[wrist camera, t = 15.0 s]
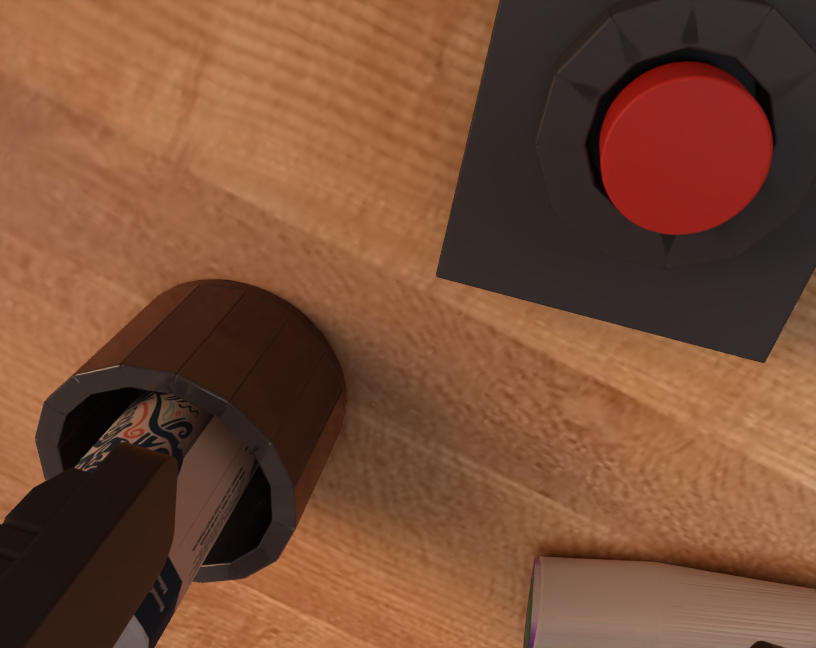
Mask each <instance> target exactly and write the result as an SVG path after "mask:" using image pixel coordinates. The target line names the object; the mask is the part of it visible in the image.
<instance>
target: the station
mask: <svg viewBox="0 0 816 648" xmlns="http://www.w3.org/2000/svg"><path fill="white" fill-rule="evenodd" d="M683 61H691V62H701V63H707V64H710V65H713V66H716V67H718V68H720V69H723V70H725V71H726V72H728V73H729V74H731V75H732V76H734V77H735V78H736V79H737V80H738V81H739V82H740V83H741V84H742V85H743V86H744V87H745V88H746V89H747V90H748V92H749V93H750V94H751V95H752V96H753V97H754V99H755V100H756V101H757V102H758V104H759V105H760V106H761V107H762V109H763V111H764V113H765V114H766V116H767V119H768V121H769V124H770V127H771V132H772V136H773V154H772V161H771V165H770V169H769V172H768V174H767V177H766V179H765V181H764V183H763V185H762V187H761V189H760V190H759V192H758V193H757V194H756V196H755V197H754V198H753V200H752V201H751V202H750V203H749V204H748V205H747V206H746V207H745V208H744V209H743V210H742V211H740V212H739V213H738V214H737V215H735V216H734V217H732V218H731V219H730V220H728V221H726V222H724V223H722V224H721V225H719V226H716V227H714V228H711V229H709V230H706V231H702V232H698V233H693V234H685V235H670V234H662V233H657V232H653V231H650V230H647V229H644V228H642V227H640V226H638V225H636V224H635V223H633V222H631V221H630V220H628V219H627V218H626V217H625V216H624V215H622V214H621V213H620V212H619V210H618V209H617V208H616V207H615V206H614V204H613V203H612V201H611V200H610V198H609V196H608V194H607V192H606V190H605V187H604V184H603V181H602V175H601V166H600V151H599V139H600V131H601V127H602V123H603V120H604V118H605V115H606V113H607V111H608V109H609V107H610V105H611V104H612V102H613V101H614V99H615V98H616V97H617V95H618V94H619V93H620V92H621V91H622V90H623V89H624V88H625V87H626V86H627V85H628V84H629V83H630V82H632V81H633V80H634V79H635V78H637V77H638V76H640V75H641V74H643V73H645V72H647V71H649V70H651V69H653V68H656V67H659V66H661V65H665V64H669V63H673V62H683ZM815 267H816V0H500V2H499V6H498V10H497V14H496V19H495V23H494V27H493V32H492V36H491V40H490V44H489V49H488V53H487V57H486V62H485V66H484V70H483V75H482V79H481V83H480V87H479V92H478V96H477V100H476V105H475V109H474V113H473V118H472V122H471V126H470V130H469V135H468V139H467V143H466V148H465V152H464V156H463V160H462V165H461V169H460V173H459V178H458V182H457V186H456V191H455V195H454V199H453V203H452V208H451V212H450V216H449V221H448V225H447V229H446V234H445V238H444V242H443V246H442V251H441V255H440V259H439V264H438V268H437V272H436V276H437V277H439V278H443V279H447V280H450V281H454V282H458V283H462V284H465V285H469V286H473V287H477V288H481V289H484V290H488V291H492V292H496V293H500V294H503V295H507V296H511V297H515V298H519V299H522V300H526V301H530V302H534V303H538V304H541V305H545V306H549V307H553V308H557V309H560V310H564V311H568V312H572V313H575V314H579V315H583V316H587V317H591V318H594V319H598V320H602V321H606V322H610V323H613V324H617V325H621V326H625V327H629V328H632V329H636V330H640V331H644V332H648V333H651V334H655V335H659V336H663V337H666V338H670V339H674V340H678V341H682V342H685V343H689V344H693V345H697V346H701V347H704V348H708V349H712V350H716V351H720V352H723V353H727V354H731V355H735V356H739V357H742V358H746V359H750V360H754V361H757V362H761V363H765V361H766V359H767V358H768V356H769V354H770V352H771V350H772V348H773V346H774V344H775V342H776V341H777V339H778V337H779V335H780V333H781V331H782V329H783V327H784V325H785V324H786V322H787V320H788V318H789V316H790V314H791V312H792V310H793V309H794V307H795V305H796V303H797V301H798V299H799V297H800V295H801V293H802V292H803V290H804V288H805V286H806V284H807V282H808V280H809V278H810V277H811V275H812V273H813V271H814V269H815Z"/></svg>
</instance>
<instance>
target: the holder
mask: <svg viewBox="0 0 816 648" xmlns="http://www.w3.org/2000/svg"><path fill="white" fill-rule="evenodd" d="M143 390H150V391H156V392H162V393H167V394H173V395H175V396H177V397H179V398H181V399H183V400H185V401H187V402H189V403H191V404H193V405H195V406H197V407H199V408H201V409H203V410H205V411H206V412H208V413H210V414H212V415H214V416H216V417H217V418H218V419H219V420H220V421H221V422H222V423H224V424H225V425H226V426H227V427H228V428H229V429H230V430H231V431H232V432H233V433H234V434H235V435H236V436H237V437H238V438H239V439H240V440H241V441H242V442H243V443H244V444H246V445H247V446H248V447H249V448H250V449H251V450H252V451H253V453H254V455H255V457H256V459H257V461H258V463H259V466H258V468H257V470H256V472H255V473H254V475H253V477H252V478H251V480H250V482H249V484H248V485H247V487H246V489H245V491H244V492H243V494H242V496H241V498H240V499H239V501H238V503H237V505H236V506H235V508H234V510H233V512H232V513H231V515H230V517H229V519H228V520H227V522H226V524H225V525H224V527H223V529H222V531H221V532H220V534H219V536H218V538H217V539H216V541H215V543H214V545H213V546H212V548H211V550H210V552H209V553H208V555H207V557H206V559H205V560H204V562H203V564H202V565H201V567H200V569H199V571H198V572H197V574H196V576H195V578H194V579H193V581H194V582H198V583H200V582H202V583H206V582H216V581H226V580H237V579H243V578H244V579H245V578H247V577H248V576H250V575H252V574H254V573H256V572H257V571H259V570H261V569H263V568H265V567H266V566H268V565H270V564H272V563H274V562H275V561H277V559H279V557H280V555H281V554H282V552H283V550H284V548H285V547H286V545H287V543H288V542H289V540H290V538H291V536H292V535H293V533H294V531H295V530H296V527H297V525H298V523H299V521H300V519H301V516H302V514H303V512H304V510H305V508H306V506H307V503H308V501H309V499H310V497H311V495H312V492H313V490H314V488H315V486H316V484H317V482H318V479H319V477H320V475H321V473H322V471H323V468H324V466H325V464H326V462H327V460H328V458H329V455H330V453H331V451H332V449H333V447H334V444H335V442H336V440H337V438H338V436H339V433H340V431H341V429H342V426H343V420H344V416H345V412H346V402H347V399H346V386H345V381H344V377H343V373H342V370H341V367H340V365H339V362H338V360H337V358H336V356H335V354H334V352H333V350H332V348H331V347H330V345H329V344H328V342H327V341H326V339H325V338H324V336H323V335H322V334H321V333H320V332H319V330H318V329H317V328H316V327H315V326H314V325H313V324H312V323H311V322H310V321H309V320H308V319H307V318H306V317H305V316H304V315H303V314H302V313H300V312H299V311H298V310H296V309H295V308H294V307H292V306H291V305H290V304H288V303H287V302H285V301H283V300H282V299H280V298H278V297H277V296H275V295H273V294H270V293H268V292H266V291H264V290H262V289H259V288H256V287H253V286H250V285H247V284H243V283H239V282H234V281H227V280H216V279H215V280H198V281H193V282H187V283H184V284H181V285H178V286H175V287H173V288H171V289H169V290H167V291H165V292H163V293H162V294H161V295H159V296H157V297H156V298H155V299H154V300H153V301H152V302H151V303H150V304H148V305H147V306H146V307H145V308H144V309H143V310H142V311H141V312H140V313H139V314H137V315H136V316H135V317H134V318H133V319H132V320H131V321H130V322H129V323H128V324H127V325H125V326H124V327H123V328H122V329H121V330H120V331H119V332H118V333H117V334H116V335H115V336H114V337H113V338H111V339H110V340H109V341H108V342H107V343H106V344H105V345H104V346H103V347H102V348H101V349H100V350H98V351H97V352H96V353H95V354H94V355H93V356H92V357H91V358H90V359H89V360H88V361H87V362H86V363H84V364H83V365H82V366H81V367H80V368H79V369H78V370H77V371H76V372H75V373H74V374H73V375H72V376H70V377H69V378H68V379H67V380H66V381H65V382H64V383H63V384H62V385H61V386H60V387H59V388H57V389H56V390H55V391H54V392H53V393H52V394H51V395H50V396H49V397H48V398H47V399H46V401H44V404H43V408H42V412H41V416H40V420H39V424H38V428H37V432H36V436H35V441H36V445H37V449H38V453H39V457H40V461H41V466H42V470H43V474H44V478H45V479H46V481H47V480H49V479H51V478H52V477H54V476H56V475H58V474H60V473H62V472H63V471H65V470H67V469H69V468H71V467H75V466H76V465H77V464H78V462H79V461H80V460H81V459H82V458H83V457H84V456H85V455H86V454H87V452H88V451H89V450H90V449H91V448H92V447H93V446H94V445H95V444H96V442H97V441H98V440H99V439H100V438H101V437H102V436H103V435H104V434H105V432H106V431H107V430H108V429H109V428H110V427H111V426H112V425H113V423H114V422H115V421H116V420H117V419H118V418H119V417H120V416H121V415H122V413H123V412H124V411H125V410H126V409H127V408H128V407H129V406H130V405H131V403H132V402H133V401H134V400H135V399H136V398H137V397H138V396H139V395H140V393H141V392H142V391H143Z"/></svg>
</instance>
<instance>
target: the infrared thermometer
mask: <svg viewBox="0 0 816 648" xmlns="http://www.w3.org/2000/svg"><path fill="white" fill-rule="evenodd" d="M757 641H765V642H769V643H772V644H775V645H778V646H782V647H785V648H816V589H811V588H805V587H798V586H792V585H787V584H781V583H775V582H769V581H763V580H757V579H751V578H745V577H739V576H733V575H728V574H722V573H716V572H710V571H705V570H699V569H693V568H687V567H682V566H676V565H670V564H664V563H659V562H649V561H626V560H604V559H582V558H561V557H539V558H538V559H535V560H534V566H533V573H532V579H531V585H530V592H529V599H528V607H527V615H526V625H525V634H524V645H523V648H750V647H751V646H752V645H753V644H754V643H755V642H757Z"/></svg>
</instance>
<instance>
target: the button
mask: <svg viewBox="0 0 816 648" xmlns="http://www.w3.org/2000/svg"><path fill="white" fill-rule="evenodd" d="M599 151H600V166H601V175H602V181H603V184H604V187H605V190H606V192H607V194H608V196H609V198H610V200H611V201H612V203H613V204H614V206H615V207H616V208H617V209H618V210H619V212H620V213H621V214H622V215H624V216H625V217H626V218H627V219H628V220H630V221H631V222H633V223H635V224H636V225H638V226H640V227H642V228H644V229H647V230H650V231H653V232H657V233H662V234H670V235H685V234H693V233H698V232H702V231H706V230H709V229H711V228H714V227H716V226H719V225H721V224H722V223H724V222H726V221H728V220H730V219H731V218H732V217H734V216H735V215H737V214H738V213H739V212H740V211H742V210H743V209H744V208H745V207H746V206H747V205H748V204H749V203H750V202H751V201H752V200H753V198H754V197H755V196H756V194H757V193H758V192H759V190H760V189H761V187H762V185H763V183H764V181H765V179H766V177H767V174H768V172H769V169H770V165H771V161H772V154H773V136H772V132H771V127H770V124H769V121H768V119H767V116H766V114H765V113H764V111H763V109H762V107H761V106H760V105H759V104H758V102H757V101H756V100H755V99H754V97H753V96H752V95H751V94H750V93H749V92H748V90H747V89H746V88H745V87H744V86H743V85H742V84H741V83H740V82H739V81H738V80H737V79H736V78H735V77H734V76H732V75H731V74H729V73H728V72H726V71H725V70H723V69H720V68H718V67H716V66H713V65H710V64H707V63H701V62H691V61H683V62H673V63H669V64H665V65H661V66H659V67H656V68H653V69H651V70H649V71H647V72H645V73H643V74H641V75H640V76H638V77H637V78H635V79H634V80H633V81H632V82H630V83H629V84H628V85H627V86H626V87H625V88H624V89H623V90H622V91H621V92H620V93H619V94H618V95H617V97H616V98H615V99H614V101H613V102H612V104H611V105H610V107H609V109H608V111H607V113H606V115H605V118H604V120H603V123H602V127H601V131H600V139H599Z"/></svg>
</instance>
